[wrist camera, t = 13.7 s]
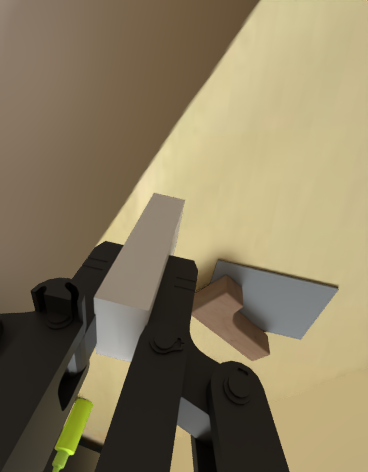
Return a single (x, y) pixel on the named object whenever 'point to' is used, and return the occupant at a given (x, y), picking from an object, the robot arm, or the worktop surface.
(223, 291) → the wooden block
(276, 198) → the worktop surface
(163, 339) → the robot arm
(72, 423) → the soap dispenser
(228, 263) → the mat
